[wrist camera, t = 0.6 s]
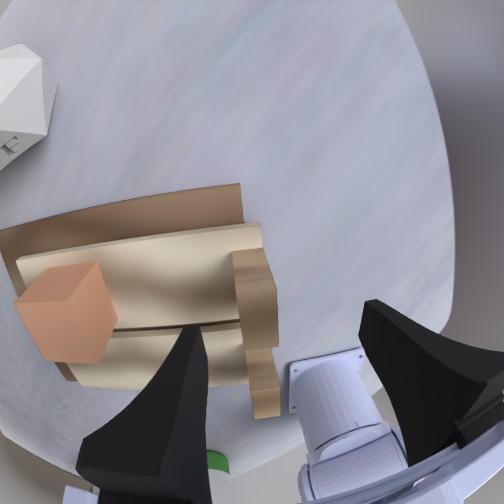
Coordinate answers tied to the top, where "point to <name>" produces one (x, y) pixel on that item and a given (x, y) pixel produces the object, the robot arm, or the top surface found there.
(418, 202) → the top surface
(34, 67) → the die
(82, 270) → the block
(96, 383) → the empty slat
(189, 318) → the slat
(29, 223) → the board
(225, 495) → the wine bottle
